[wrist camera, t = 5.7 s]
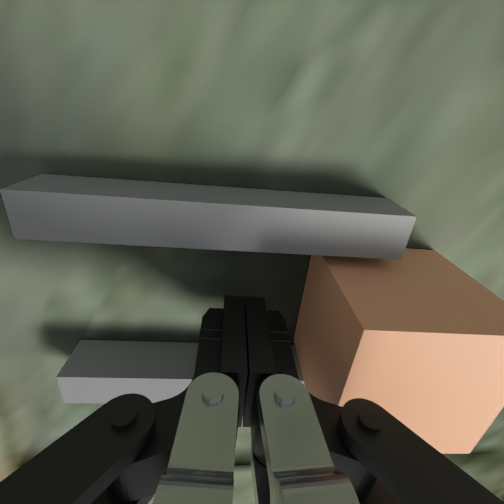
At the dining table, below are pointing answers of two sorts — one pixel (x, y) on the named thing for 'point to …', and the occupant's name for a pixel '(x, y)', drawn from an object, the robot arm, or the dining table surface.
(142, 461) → the robot arm
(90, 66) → the dining table surface
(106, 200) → the chute
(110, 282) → the dining table surface
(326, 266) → the terracotta block
